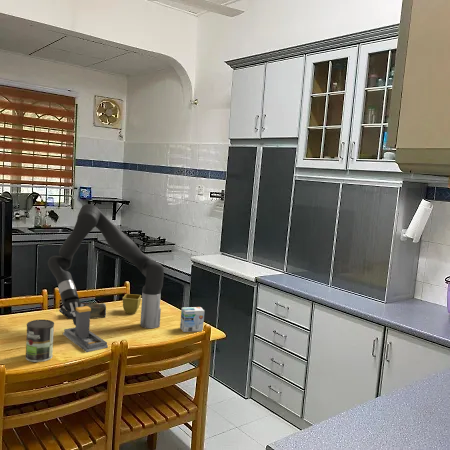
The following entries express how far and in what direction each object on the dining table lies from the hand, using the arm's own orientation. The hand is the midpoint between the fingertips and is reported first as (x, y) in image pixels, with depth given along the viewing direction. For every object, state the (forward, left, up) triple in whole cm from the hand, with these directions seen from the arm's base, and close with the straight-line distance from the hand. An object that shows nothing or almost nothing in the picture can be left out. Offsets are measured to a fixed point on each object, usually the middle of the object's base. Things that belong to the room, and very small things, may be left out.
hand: (77, 324), depth 209 cm
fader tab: (-2, +2, -5) cm, 5 cm away
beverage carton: (-7, -31, -7) cm, 32 cm away
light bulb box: (-56, -2, -6) cm, 56 cm away
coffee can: (+16, +19, -6) cm, 26 cm away
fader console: (-3, +4, -6) cm, 8 cm away
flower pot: (-31, -34, -6) cm, 46 cm away
